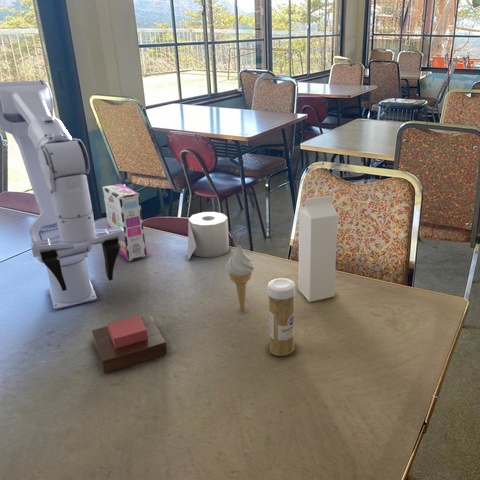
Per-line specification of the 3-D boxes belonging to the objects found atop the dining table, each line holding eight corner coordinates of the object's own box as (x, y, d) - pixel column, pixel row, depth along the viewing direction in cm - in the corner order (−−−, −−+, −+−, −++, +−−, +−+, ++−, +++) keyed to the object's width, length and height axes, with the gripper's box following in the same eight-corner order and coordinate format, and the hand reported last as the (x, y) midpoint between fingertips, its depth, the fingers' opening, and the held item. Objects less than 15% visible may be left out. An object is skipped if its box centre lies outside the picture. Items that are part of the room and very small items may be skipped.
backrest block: (93, 341, 86) (91, 330, 85) (151, 325, 92) (150, 314, 91) (104, 373, 79) (102, 361, 78) (167, 354, 84) (165, 342, 83)
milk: (298, 289, 106) (298, 194, 97) (322, 284, 108) (324, 190, 100) (309, 302, 101) (310, 203, 92) (335, 296, 103) (338, 199, 95)
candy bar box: (148, 256, 119) (140, 193, 112) (128, 262, 116) (119, 197, 109) (129, 242, 126) (121, 182, 120) (110, 247, 123) (100, 186, 117)
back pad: (110, 344, 86) (107, 323, 84) (141, 335, 88) (138, 315, 87) (117, 360, 82) (113, 339, 80) (149, 350, 84) (146, 329, 83)
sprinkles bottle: (290, 359, 83) (290, 291, 78) (265, 354, 84) (264, 287, 79) (297, 343, 87) (298, 278, 82) (273, 340, 88) (272, 275, 83)
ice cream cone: (250, 321, 94) (248, 251, 88) (223, 317, 95) (219, 248, 89) (259, 306, 99) (257, 239, 93) (234, 303, 100) (230, 237, 94)
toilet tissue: (182, 262, 116) (178, 230, 113) (198, 241, 128) (196, 210, 125) (218, 265, 116) (216, 232, 112) (232, 242, 128) (230, 212, 124)
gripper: (26, 228, 75) (44, 303, 80) (123, 212, 82) (134, 282, 88) (23, 214, 80) (40, 285, 86) (115, 200, 88) (125, 267, 93)
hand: (87, 283), depth 87 cm, fingers open, 7 cm apart
